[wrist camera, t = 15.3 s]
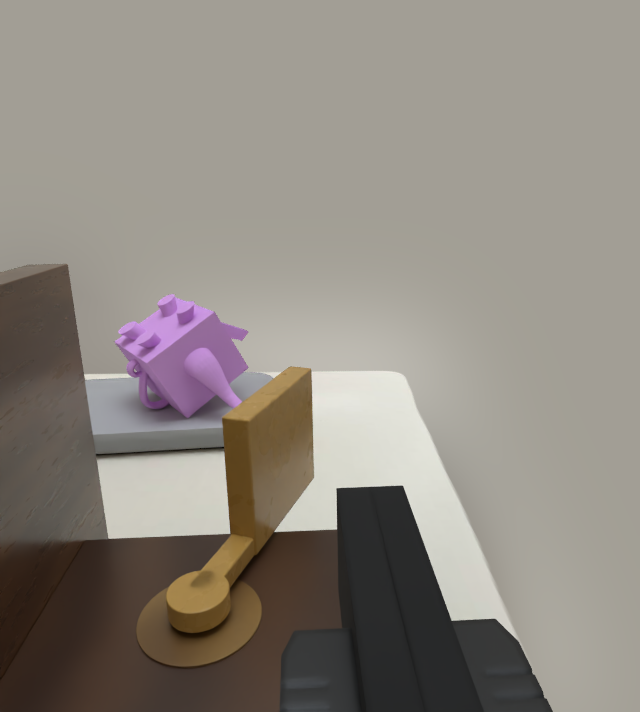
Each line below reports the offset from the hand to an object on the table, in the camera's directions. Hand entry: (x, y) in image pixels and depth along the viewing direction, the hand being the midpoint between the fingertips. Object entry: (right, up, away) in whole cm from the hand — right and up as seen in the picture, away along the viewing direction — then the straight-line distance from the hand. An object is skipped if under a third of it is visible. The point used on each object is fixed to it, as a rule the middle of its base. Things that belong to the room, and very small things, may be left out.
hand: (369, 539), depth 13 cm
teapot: (-17, +8, +41) cm, 45 cm away
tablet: (-19, -3, +46) cm, 50 cm away
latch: (-4, -5, +15) cm, 17 cm away
